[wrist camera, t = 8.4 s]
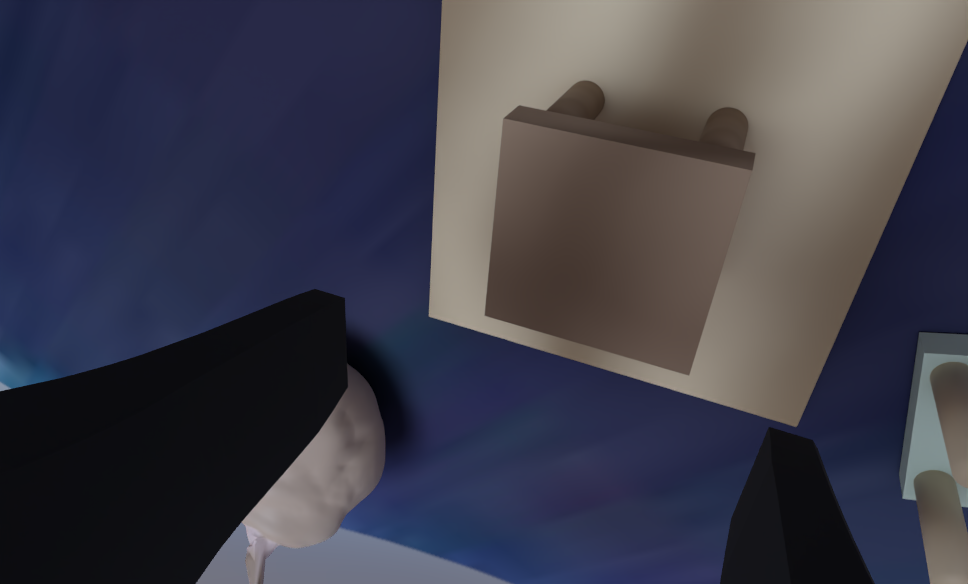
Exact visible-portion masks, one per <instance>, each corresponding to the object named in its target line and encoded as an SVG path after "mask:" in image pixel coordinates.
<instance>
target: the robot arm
mask: <svg viewBox="0 0 968 584" xmlns="http://www.w3.org/2000/svg"><path fill="white" fill-rule="evenodd" d="M347 388H348V371H347V346H346V320H345V298H343V297H340V296H336V295H333V294H330V293H326V292H323V291H320V290H317V289H314V290H311V291H308V292H304V293H302V294H299V295H296V296H293V297H291V298H288V299H286V300H283V301H281V302H278V303H276V304H273V305H271V306H268V307H266V308H263V309H261V310H258V311H256V312H253V313H251V314H249V315H246V316H244V317H241V318H239V319H236V320H234V321H231V322H229V323H226V324H224V325H221V326H219V327H216V328H214V329H211V330H209V331H206V332H203V333H201V334H198V335H195V336H193V337H190V338H187V339H184V340H181V341H179V342H176V343H173V344H170V345H168V346H165V347H162V348H159V349H156V350H154V351H151V352H148V353H145V354H142V355H139V356H136V357H133V358H130V359H127V360H124V361H121V362H117V363H114V364H111V365H107V366H104V367H100V368H97V369H93V370H89V371H86V372H82V373H79V374H75V375H71V376H67V377H63V378H59V379H55V380H50V381H46V382H41V383H36V384H32V385H27V386H23V387H18V388H13V389H9V390H4V391H0V584H196V582H197V581H198V579H199V578H200V577H201V575H202V574H203V572H204V571H205V569H206V568H207V566H208V565H209V564H210V562H211V561H212V559H213V558H214V557H215V555H216V554H217V552H218V551H219V549H220V548H221V547H222V545H223V544H224V543H225V542H226V541H227V539H228V538H229V537H230V536H231V534H232V533H233V531H235V529H236V528H237V527H238V526H239V524H240V523H241V522H242V521H243V520H244V519H245V517H246V516H247V515H248V514H249V513H250V512H251V511H252V509H253V508H254V507H255V506H256V505H257V504H258V503H259V501H260V500H261V499H262V498H263V497H264V496H265V494H266V493H267V492H268V491H269V490H270V489H271V488H272V486H273V485H274V484H275V483H276V482H277V481H278V480H279V478H280V477H281V476H282V475H283V474H284V473H285V471H286V470H287V469H288V468H289V467H290V466H291V465H292V463H293V462H294V461H295V460H296V459H297V458H298V456H299V455H300V454H301V453H302V452H303V450H304V449H305V448H306V447H307V446H308V445H309V443H310V442H311V441H312V440H313V439H314V437H315V436H316V435H317V434H318V433H319V431H320V430H321V428H322V427H323V425H324V424H325V422H326V421H327V419H328V418H329V416H330V415H331V413H332V412H333V410H334V409H335V407H336V406H337V404H338V402H339V401H340V399H341V398H342V396H343V394H344V393H345V391H346V389H347ZM720 584H875V583H874V581H873V579H872V577H871V575H870V573H869V571H868V569H867V567H866V564H865V562H864V560H863V558H862V556H861V554H860V552H859V549H858V547H857V545H856V543H855V541H854V539H853V537H852V534H851V532H850V530H849V527H848V525H847V523H846V521H845V518H844V516H843V513H842V511H841V509H840V506H839V504H838V501H837V499H836V496H835V494H834V491H833V489H832V486H831V484H830V481H829V479H828V476H827V473H826V471H825V468H824V465H823V462H822V460H821V457H820V454H819V451H818V448H817V447H816V445H815V444H814V442H813V440H810V439H807V438H803V437H800V436H797V435H794V434H790V433H787V432H784V431H780V430H777V429H774V428H771V427H769V428H768V431H767V433H766V436H765V438H764V440H763V443H762V445H761V448H760V450H759V453H758V455H757V458H756V460H755V462H754V465H753V467H752V470H751V472H750V475H749V477H748V479H747V482H746V484H745V487H744V489H743V492H742V494H741V496H740V499H739V501H738V504H737V506H736V509H735V511H734V513H733V516H732V518H731V524H730V529H729V535H728V540H727V546H726V551H725V557H724V563H723V569H722V575H721V582H720Z"/></svg>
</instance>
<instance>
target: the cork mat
mask: <svg viewBox="0 0 968 584" xmlns="http://www.w3.org/2000/svg"><path fill="white" fill-rule="evenodd" d="M967 40H968V0H442V18H441V42H440V66H439V89H438V113H437V137H436V160H435V184H434V207H433V231H432V255H431V278H430V302H429V317H433V318H436V319H439V320H443V321H446V322H449V323H452V324H456V325H459V326H462V327H466V328H469V329H472V330H476V331H479V332H482V333H486V334H489V335H492V336H496V337H499V338H502V339H506V340H509V341H512V342H516V343H519V344H522V345H526V346H529V347H532V348H536V349H539V350H542V351H546V352H549V353H552V354H555V355H559V356H562V357H565V358H569V359H572V360H575V361H579V362H582V363H585V364H589V365H592V366H595V367H599V368H602V369H605V370H609V371H612V372H615V373H619V374H622V375H625V376H629V377H632V378H635V379H639V380H642V381H645V382H649V383H652V384H655V385H659V386H662V387H665V388H668V389H672V390H675V391H678V392H682V393H685V394H688V395H692V396H695V397H698V398H702V399H705V400H708V401H712V402H715V403H718V404H722V405H725V406H728V407H732V408H735V409H738V410H742V411H745V412H748V413H752V414H755V415H758V416H762V417H765V418H768V419H771V420H775V421H778V422H781V423H785V424H788V425H791V426H795V427H797V425H798V423H799V421H800V418H801V416H802V414H803V412H804V409H805V407H806V405H807V403H808V400H809V398H810V396H811V393H812V391H813V389H814V387H815V384H816V382H817V380H818V378H819V375H820V373H821V371H822V369H823V366H824V364H825V362H826V360H827V357H828V355H829V353H830V350H831V348H832V346H833V344H834V341H835V339H836V337H837V335H838V332H839V330H840V328H841V326H842V323H843V321H844V319H845V317H846V314H847V312H848V310H849V307H850V305H851V303H852V301H853V298H854V296H855V294H856V292H857V289H858V287H859V285H860V283H861V280H862V278H863V276H864V274H865V271H866V269H867V267H868V264H869V262H870V260H871V258H872V255H873V253H874V251H875V249H876V246H877V244H878V242H879V240H880V237H881V235H882V233H883V231H884V228H885V226H886V224H887V221H888V219H889V217H890V215H891V212H892V210H893V208H894V206H895V203H896V201H897V199H898V197H899V194H900V192H901V190H902V188H903V185H904V183H905V181H906V178H907V176H908V174H909V172H910V169H911V167H912V165H913V163H914V160H915V158H916V156H917V154H918V151H919V149H920V147H921V145H922V142H923V140H924V138H925V135H926V133H927V131H928V129H929V126H930V124H931V122H932V120H933V117H934V115H935V113H936V111H937V108H938V106H939V104H940V102H941V99H942V97H943V95H944V92H945V90H946V88H947V86H948V83H949V81H950V79H951V77H952V74H953V72H954V70H955V68H956V65H957V63H958V61H959V59H960V56H961V54H962V52H963V49H964V47H965V45H966V43H967ZM584 80H587V81H592V82H594V83H596V84H597V85H598V86H599V87H600V88H601V89H602V91H603V93H604V97H605V103H604V107H603V109H602V111H601V112H600V113H599V115H598V116H597V117H596V118H595V119H594V120H595V121H600V122H605V123H610V124H615V125H620V126H625V127H629V128H634V129H639V130H644V131H649V132H654V133H659V134H664V135H669V136H674V137H679V138H684V139H689V140H694V141H699V140H700V138H701V135H702V132H703V130H704V127H705V125H706V122H707V120H708V118H709V117H710V115H711V114H712V113H713V112H715V111H716V110H718V109H721V108H725V107H732V108H736V109H738V110H740V111H741V112H742V113H743V114H744V115H745V116H746V118H747V120H748V132H747V137H746V141H745V145H744V150H743V151H748V152H753V153H756V154H755V160H754V165H753V170H752V174H751V177H750V180H749V183H748V187H747V190H746V193H745V196H744V200H743V203H742V206H741V209H740V213H739V216H738V219H737V222H736V226H735V229H734V232H733V235H732V238H731V242H730V245H729V248H728V251H727V255H726V258H725V261H724V264H723V268H722V271H721V274H720V277H719V281H718V284H717V287H716V290H715V294H714V297H713V300H712V303H711V306H710V310H709V313H708V316H707V319H706V323H705V326H704V329H703V332H702V336H701V339H700V342H699V345H698V349H697V352H696V355H695V358H694V361H693V365H692V368H691V371H690V374H689V376H688V375H685V374H681V373H678V372H675V371H671V370H668V369H664V368H661V367H657V366H654V365H651V364H647V363H644V362H640V361H637V360H634V359H630V358H627V357H623V356H620V355H617V354H613V353H610V352H606V351H603V350H600V349H596V348H593V347H589V346H586V345H582V344H579V343H576V342H572V341H569V340H565V339H562V338H559V337H555V336H552V335H548V334H545V333H542V332H538V331H535V330H531V329H528V328H525V327H521V326H518V325H514V324H511V323H507V322H504V321H501V320H497V319H494V318H490V317H487V316H484V315H485V304H486V294H487V283H488V273H489V262H490V252H491V241H492V231H493V220H494V210H495V199H496V189H497V178H498V168H499V157H500V147H501V136H502V126H503V118H504V117H505V116H507V115H508V114H509V113H510V112H511V111H513V110H514V109H515V108H516V107H517V106H519V105H521V106H526V107H531V108H536V109H541V110H547V109H548V108H549V107H550V106H551V105H553V104H554V103H555V102H556V101H557V100H558V99H559V98H560V97H561V96H562V95H563V94H564V93H565V92H566V91H567V90H569V89H570V88H571V87H572V86H573V85H574V84H575V83H577V82H579V81H584Z"/></svg>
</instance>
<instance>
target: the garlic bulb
mask: <svg viewBox="0 0 968 584" xmlns="http://www.w3.org/2000/svg"><path fill="white" fill-rule="evenodd" d="M347 371H348V388H347V389H346V391H345V393H344V394H343V396H342V398H341V399H340V401H339V402H338V404H337V406H336V407H335V409H334V410H333V412H332V413H331V415H330V416H329V418H328V419H327V421H326V422H325V424H324V425H323V427H322V428H321V430H320V431H319V433H318V434H317V435H316V436H315V437H314V439H313V440H312V441H311V442H310V443H309V445H308V446H307V447H306V448H305V449H304V450H303V452H302V453H301V454H300V455H299V456H298V458H297V459H296V460H295V461H294V462H293V463H292V465H291V466H290V467H289V468H288V469H287V470H286V471H285V473H284V474H283V475H282V476H281V477H280V478H279V480H278V481H277V482H276V483H275V484H274V485H273V486H272V488H271V489H270V490H269V491H268V492H267V493H266V494H265V496H264V497H263V498H262V499H261V500H260V501H259V503H258V504H257V505H256V506H255V507H254V508H253V509H252V511H251V512H250V513H249V514H248V515H247V516H246V517H245V519H244V520H243V521H242V523H243V524H244V525H245V527H246V530H247V537H248V540H249V542H250V545H249V547H248V548H247V554H246V560H245V562H246V567H247V573H248V578H249V583H250V584H263V579H264V568H265V559H266V558H268V557H269V556H270V554H271V553H272V552H273V550H274V549H275V548H276V547H277V546H279V545H281V546H284V547H288V548H304V547H308V546H312V545H315V544H318V543H321V542H323V541H325V540H327V539H329V538H330V537H332V536H333V535H334V534H335V533H336V532H337V530H338V529H339V527H340V525H341V523H342V521H343V519H344V517H345V516H346V514H347V513H348V512H349V511H350V510H352V509H353V508H354V507H355V506H356V505H357V504H358V503H359V502H360V501H362V500H363V499H364V498H365V497H367V496H368V495H369V494H370V493H371V492H372V490H373V489H374V488H375V487H376V485H377V484H378V482H379V480H380V478H381V476H382V472H383V469H384V464H385V431H384V424H383V420H382V418H381V415H380V411H379V407H378V403H377V400H376V397H375V394H374V392H373V390H372V388H371V386H370V385H369V383H368V382H367V381H366V379H365V378H364V377H363V376H362V375H361V374H360V373H359V372H358V371H356V370H355V369H354V368H352V367H351V366H350V365H349V364H347Z"/></svg>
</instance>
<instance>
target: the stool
mask: <svg viewBox="0 0 968 584" xmlns="http://www.w3.org/2000/svg"><path fill="white" fill-rule="evenodd" d="M604 103H605V97H604V93H603V91H602V89H601V88H600V87H599V86H598V85H597V84H596V83H594V82H592V81H587V80H584V81H579V82H577V83H575V84H574V85H573V86H572V87H571V88H570V89H569V90H567V91H566V92H565V93H564V94H563V95H562V96H561V97H560V98H559V99H558V100H557V101H556V102H555V103H554V104H553V105H551V106H550V107H549V108H548V109H547V110H541V109H536V108H531V107H526V106H521V105H519V106H517V107H516V108H515V109H514V110H513V111H511V112H510V113H509V114H508V115H507V116H505V117H504V118H503V126H502V136H501V147H500V157H499V168H498V178H497V189H496V199H495V210H494V220H493V231H492V241H491V252H490V262H489V273H488V283H487V294H486V304H485V315H484V316H487V317H490V318H494V319H497V320H501V321H504V322H507V323H511V324H514V325H518V326H521V327H525V328H528V329H531V330H535V331H538V332H542V333H545V334H548V335H552V336H555V337H559V338H562V339H565V340H569V341H572V342H576V343H579V344H582V345H586V346H589V347H593V348H596V349H600V350H603V351H606V352H610V353H613V354H617V355H620V356H623V357H627V358H630V359H634V360H637V361H640V362H644V363H647V364H651V365H654V366H657V367H661V368H664V369H668V370H671V371H675V372H678V373H681V374H685V375H688V376H689V374H690V371H691V368H692V365H693V361H694V358H695V355H696V352H697V349H698V345H699V342H700V339H701V336H702V332H703V329H704V326H705V323H706V319H707V316H708V313H709V310H710V306H711V303H712V300H713V297H714V294H715V290H716V287H717V284H718V281H719V277H720V274H721V271H722V268H723V264H724V261H725V258H726V255H727V251H728V248H729V245H730V242H731V238H732V235H733V232H734V229H735V226H736V222H737V219H738V216H739V213H740V209H741V206H742V203H743V200H744V196H745V193H746V190H747V187H748V183H749V180H750V177H751V174H752V170H753V165H754V160H755V154H756V153H753V152H748V151H743V150H744V145H745V141H746V137H747V132H748V120H747V118H746V116H745V115H744V114H743V113H742V112H741V111H740V110H738V109H736V108H732V107H725V108H721V109H718V110H716V111H715V112H713V113H712V114H711V115H710V117H709V118H708V120H707V122H706V125H705V127H704V130H703V132H702V135H701V138H700V140H699V141H694V140H689V139H684V138H679V137H674V136H669V135H664V134H659V133H654V132H649V131H644V130H639V129H634V128H629V127H625V126H620V125H615V124H610V123H605V122H600V121H595V120H594V119H595V118H596V117H597V116H598V115H599V113H600V112H601V111H602V109H603V107H604Z"/></svg>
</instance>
